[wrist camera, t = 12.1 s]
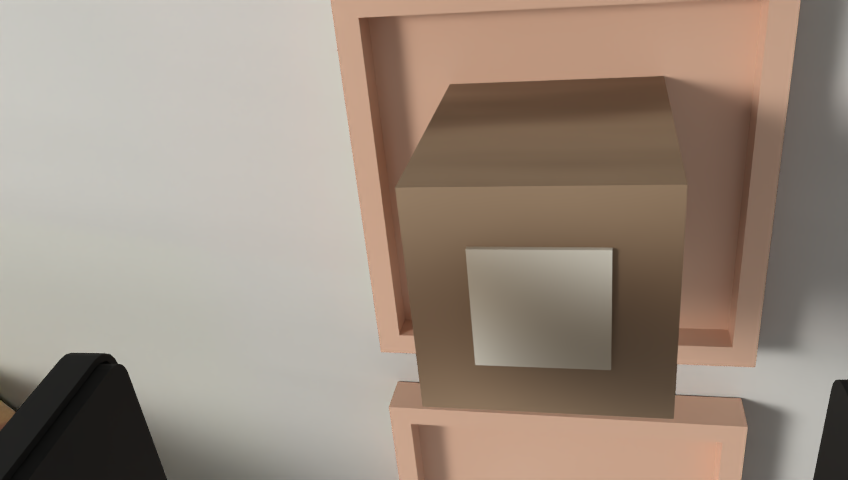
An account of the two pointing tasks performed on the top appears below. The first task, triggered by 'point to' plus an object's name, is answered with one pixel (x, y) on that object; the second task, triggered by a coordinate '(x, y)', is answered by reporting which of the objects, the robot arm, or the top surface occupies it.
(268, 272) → the top surface
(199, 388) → the top surface
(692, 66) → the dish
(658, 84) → the letter block
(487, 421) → the dish middle
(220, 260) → the top surface
